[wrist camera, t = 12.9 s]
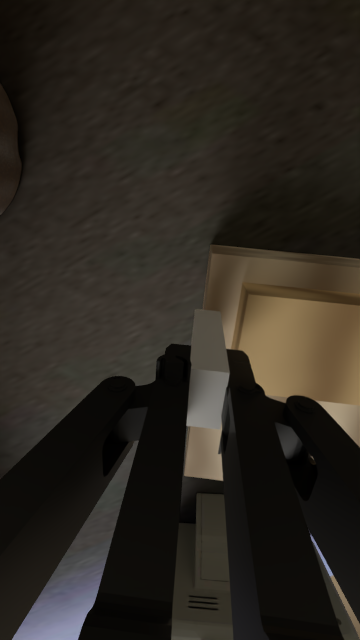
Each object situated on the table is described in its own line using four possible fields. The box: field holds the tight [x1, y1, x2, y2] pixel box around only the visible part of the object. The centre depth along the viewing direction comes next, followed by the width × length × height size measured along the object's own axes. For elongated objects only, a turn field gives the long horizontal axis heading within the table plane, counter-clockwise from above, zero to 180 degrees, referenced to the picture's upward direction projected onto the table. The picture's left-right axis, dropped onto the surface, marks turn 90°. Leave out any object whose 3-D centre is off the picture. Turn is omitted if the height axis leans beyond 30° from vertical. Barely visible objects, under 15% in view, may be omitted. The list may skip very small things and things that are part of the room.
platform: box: [184, 244, 360, 481], centre depth 22 cm, size 13×18×4 cm
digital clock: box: [171, 493, 360, 640], centre depth 26 cm, size 16×9×11 cm, turn 79°
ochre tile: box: [231, 282, 360, 406], centre depth 17 cm, size 9×6×2 cm, turn 85°
